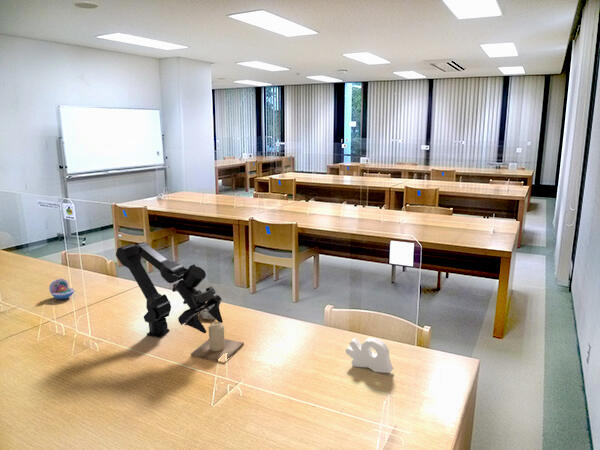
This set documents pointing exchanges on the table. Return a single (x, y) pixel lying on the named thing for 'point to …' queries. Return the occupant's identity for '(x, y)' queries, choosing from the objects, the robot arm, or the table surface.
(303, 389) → the table surface
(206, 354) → the walnut slab
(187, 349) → the table surface
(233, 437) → the table surface
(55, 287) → the cell model
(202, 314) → the mineral rock
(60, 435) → the table surface
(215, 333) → the candle
